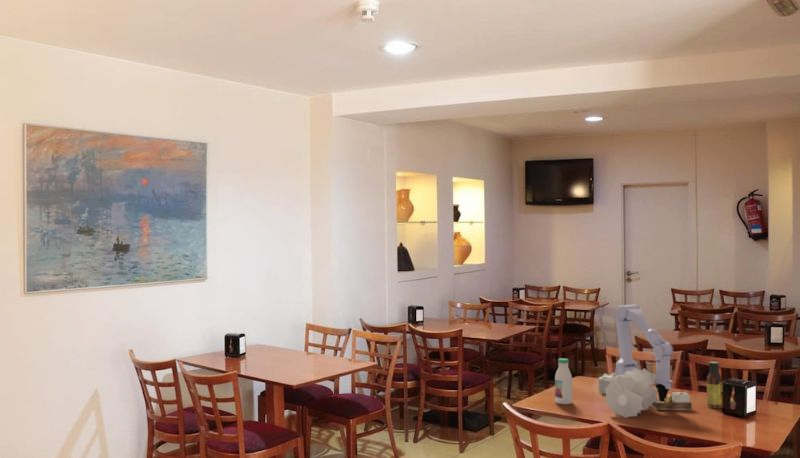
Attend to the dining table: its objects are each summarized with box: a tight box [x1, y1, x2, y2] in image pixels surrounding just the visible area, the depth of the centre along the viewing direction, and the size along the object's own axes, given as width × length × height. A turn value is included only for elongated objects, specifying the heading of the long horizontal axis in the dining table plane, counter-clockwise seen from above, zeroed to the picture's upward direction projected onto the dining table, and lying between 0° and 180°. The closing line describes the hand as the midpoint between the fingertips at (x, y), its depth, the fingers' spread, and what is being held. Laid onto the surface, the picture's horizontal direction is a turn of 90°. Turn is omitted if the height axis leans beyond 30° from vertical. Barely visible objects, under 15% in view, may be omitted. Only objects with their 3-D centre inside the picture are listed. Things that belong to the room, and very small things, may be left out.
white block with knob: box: [671, 391, 691, 403], centre depth 285 cm, size 6×4×4 cm
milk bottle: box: [554, 357, 573, 405], centre depth 296 cm, size 8×8×20 cm
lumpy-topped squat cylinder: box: [598, 373, 616, 395], centre depth 315 cm, size 10×13×9 cm
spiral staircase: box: [605, 368, 658, 419], centre depth 279 cm, size 18×18×25 cm
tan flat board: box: [652, 398, 693, 411], centre depth 285 cm, size 16×6×3 cm, turn 87°
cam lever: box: [664, 393, 672, 404], centre depth 283 cm, size 8×2×2 cm, turn 144°
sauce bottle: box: [706, 361, 723, 409], centre depth 286 cm, size 7×6×20 cm
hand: (662, 401), depth 283 cm, fingers closed, pressing on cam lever
